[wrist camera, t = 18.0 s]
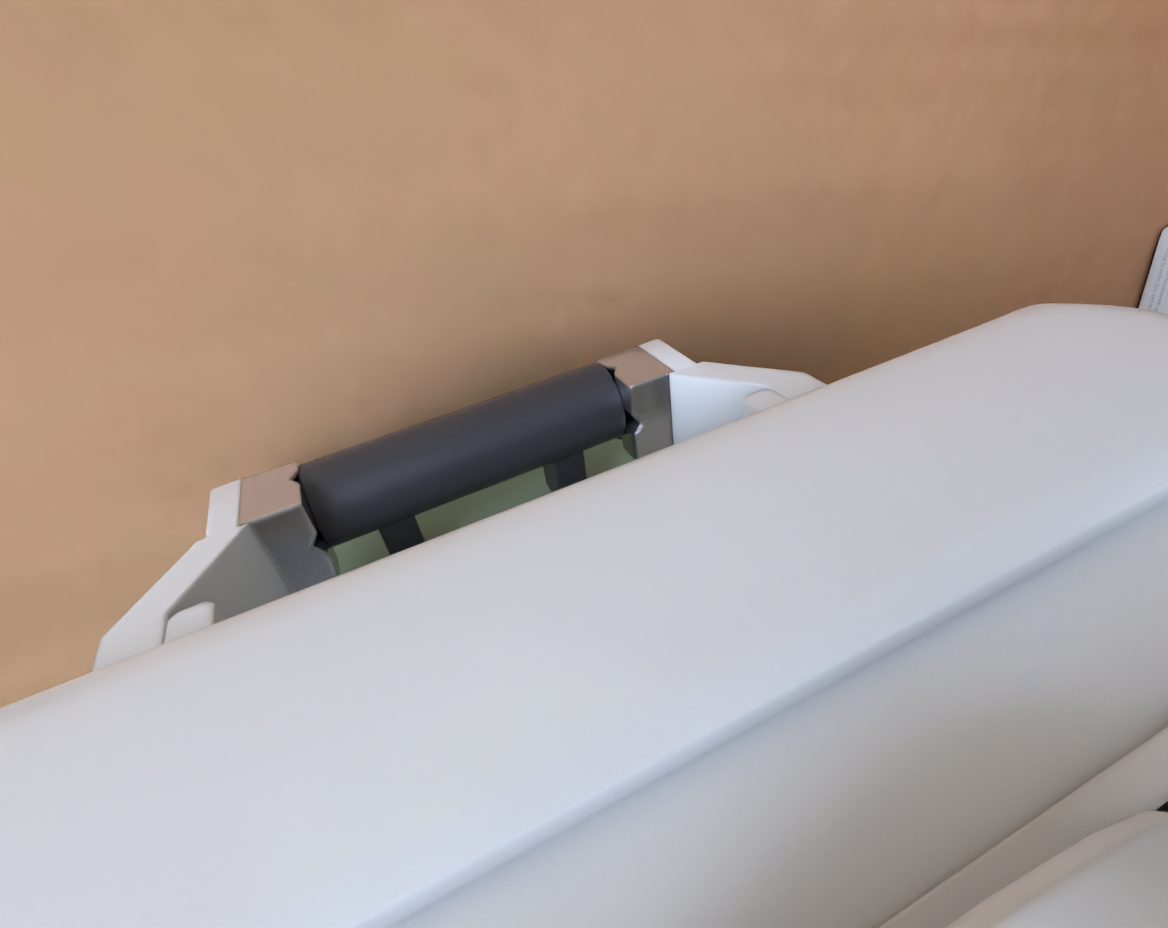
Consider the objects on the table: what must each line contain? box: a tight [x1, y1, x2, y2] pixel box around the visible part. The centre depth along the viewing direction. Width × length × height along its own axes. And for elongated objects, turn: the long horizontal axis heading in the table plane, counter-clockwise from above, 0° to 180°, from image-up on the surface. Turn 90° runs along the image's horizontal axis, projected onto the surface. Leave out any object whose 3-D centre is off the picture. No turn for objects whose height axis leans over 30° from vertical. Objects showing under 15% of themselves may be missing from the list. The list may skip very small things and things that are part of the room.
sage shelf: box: [299, 363, 635, 575], centre depth 18 cm, size 17×11×6 cm, turn 10°
